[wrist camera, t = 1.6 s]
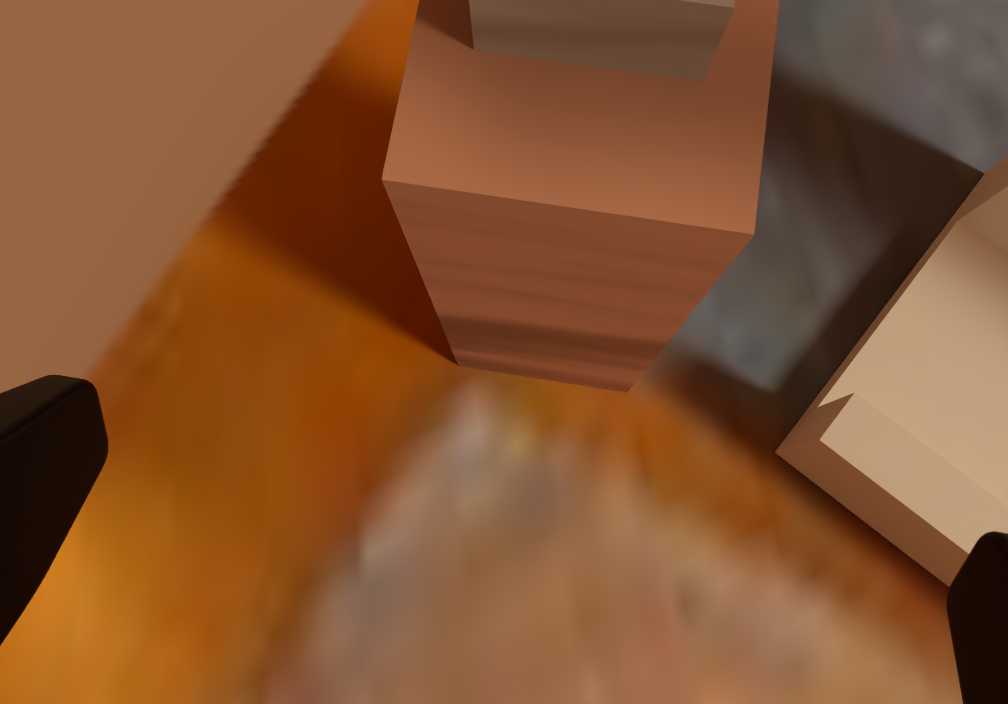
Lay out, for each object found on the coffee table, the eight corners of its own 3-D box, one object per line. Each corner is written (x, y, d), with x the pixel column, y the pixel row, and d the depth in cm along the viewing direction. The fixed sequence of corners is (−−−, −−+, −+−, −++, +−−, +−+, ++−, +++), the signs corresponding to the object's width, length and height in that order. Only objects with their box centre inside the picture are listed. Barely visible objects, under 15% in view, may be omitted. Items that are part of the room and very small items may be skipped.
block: (626, 392, 23) (795, 183, 9) (458, 365, 23) (356, 121, 9) (649, 232, 24) (831, -188, 10) (487, 208, 24) (435, -234, 10)
